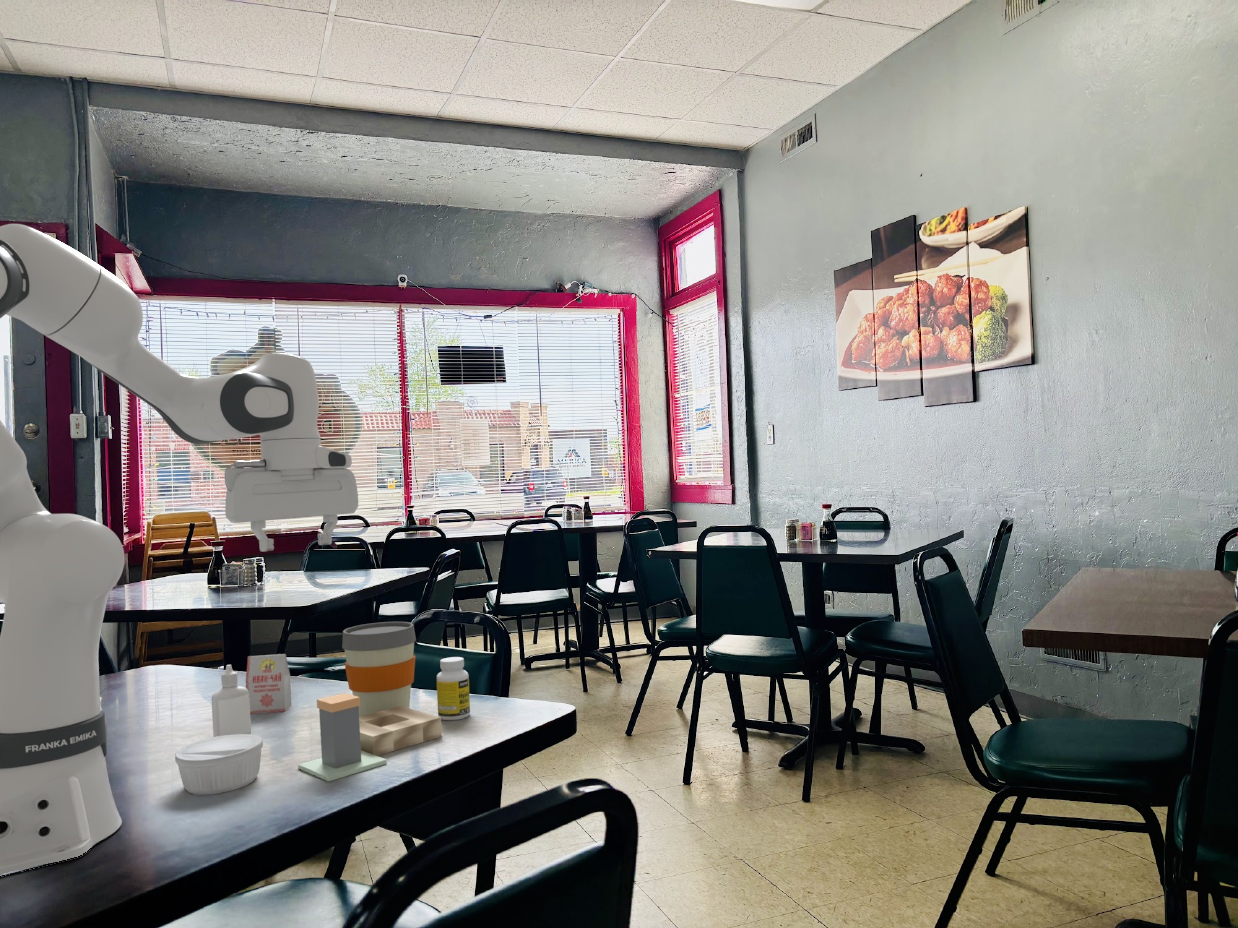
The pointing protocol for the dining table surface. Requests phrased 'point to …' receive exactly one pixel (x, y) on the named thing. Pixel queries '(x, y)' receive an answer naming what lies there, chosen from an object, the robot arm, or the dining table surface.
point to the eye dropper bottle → (231, 707)
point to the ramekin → (220, 763)
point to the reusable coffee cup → (380, 664)
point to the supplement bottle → (453, 689)
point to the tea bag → (268, 683)
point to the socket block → (396, 729)
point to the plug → (340, 730)
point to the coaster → (331, 773)
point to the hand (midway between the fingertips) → (296, 547)
